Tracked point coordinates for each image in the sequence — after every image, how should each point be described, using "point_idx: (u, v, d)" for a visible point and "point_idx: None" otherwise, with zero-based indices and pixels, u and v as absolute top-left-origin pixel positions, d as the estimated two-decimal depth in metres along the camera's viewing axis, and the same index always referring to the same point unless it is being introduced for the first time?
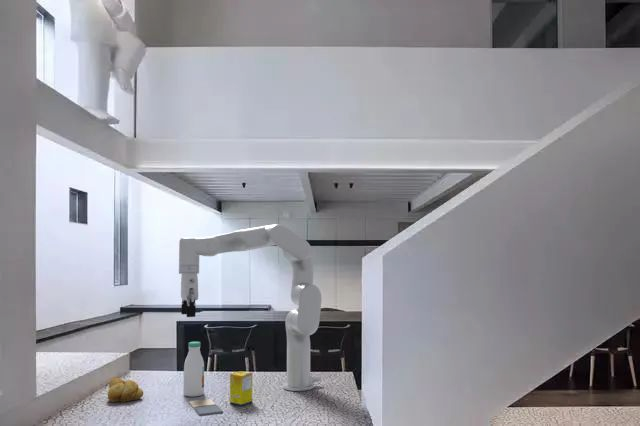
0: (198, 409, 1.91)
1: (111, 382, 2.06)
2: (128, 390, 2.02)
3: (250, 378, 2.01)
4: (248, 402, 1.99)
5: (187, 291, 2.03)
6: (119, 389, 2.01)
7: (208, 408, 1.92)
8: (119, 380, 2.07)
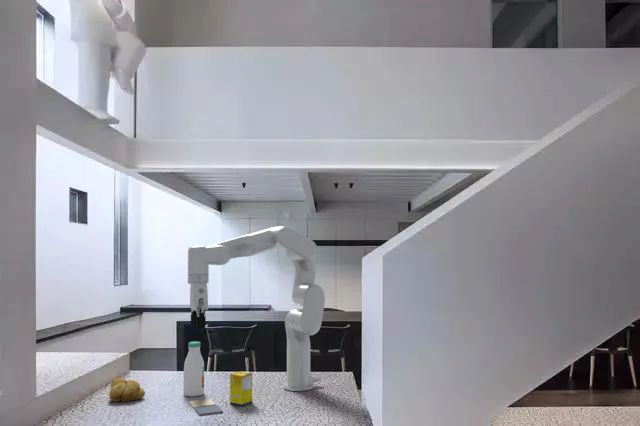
0: (198, 409, 1.91)
1: (113, 382, 2.06)
2: (129, 390, 2.02)
3: (250, 378, 2.01)
4: (248, 402, 1.99)
5: (197, 301, 1.98)
6: (120, 389, 2.02)
7: (208, 408, 1.92)
8: (121, 380, 2.07)
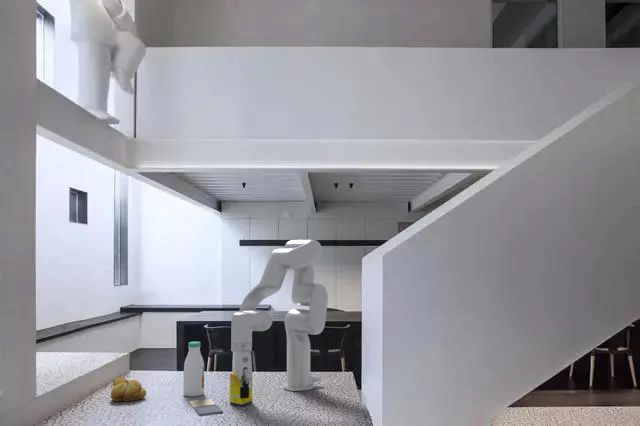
0: (198, 409, 1.91)
1: (115, 381, 2.07)
2: (130, 390, 2.03)
3: None
4: (248, 402, 1.99)
5: (241, 371, 1.96)
6: (121, 389, 2.02)
7: (208, 408, 1.92)
8: (122, 379, 2.07)
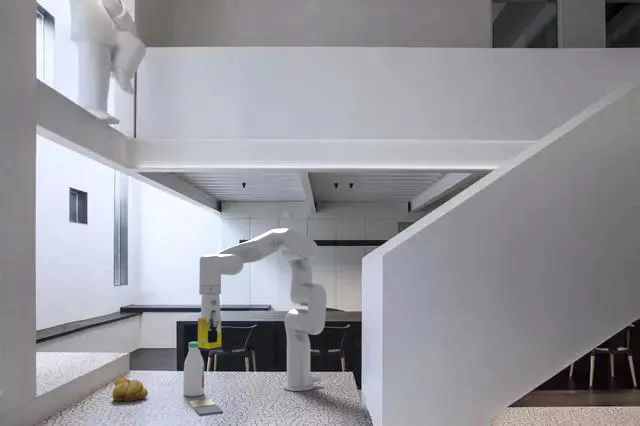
0: (198, 409, 1.91)
1: (116, 381, 2.07)
2: (132, 390, 2.03)
3: None
4: (216, 347, 1.91)
5: (209, 314, 1.88)
6: (123, 389, 2.02)
7: (208, 408, 1.92)
8: (124, 379, 2.08)
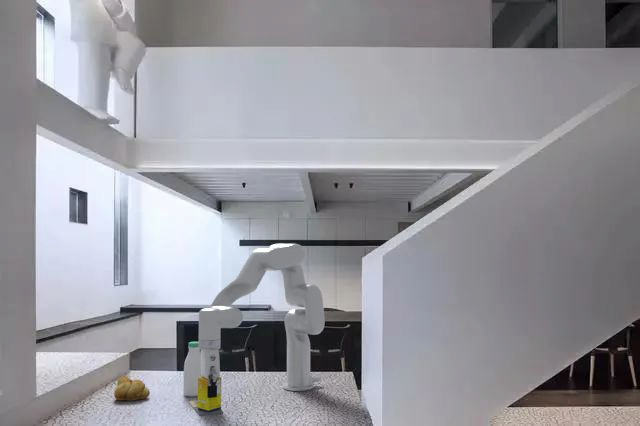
0: None
1: (119, 381, 2.08)
2: (133, 389, 2.03)
3: (219, 383, 1.91)
4: (216, 408, 1.89)
5: (208, 369, 1.87)
6: (124, 388, 2.03)
7: None
8: (126, 379, 2.08)
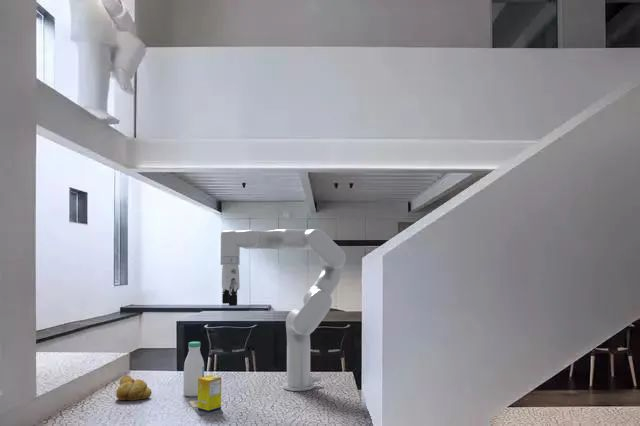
0: None
1: (121, 380, 2.08)
2: (135, 389, 2.03)
3: (219, 383, 1.91)
4: (216, 408, 1.89)
5: (229, 281, 2.14)
6: (126, 388, 2.03)
7: None
8: (128, 379, 2.09)
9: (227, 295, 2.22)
